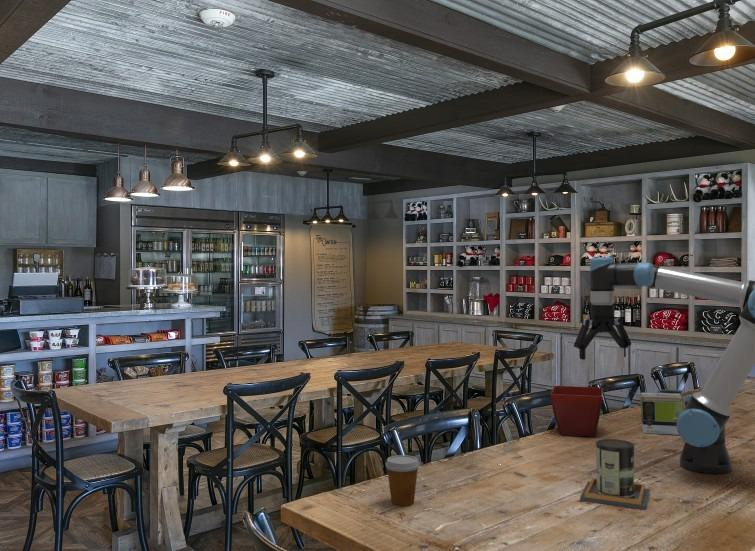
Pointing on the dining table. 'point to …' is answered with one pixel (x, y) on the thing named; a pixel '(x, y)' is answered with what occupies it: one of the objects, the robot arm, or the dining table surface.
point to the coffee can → (615, 467)
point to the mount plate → (634, 502)
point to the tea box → (660, 412)
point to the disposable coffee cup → (402, 478)
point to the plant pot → (576, 409)
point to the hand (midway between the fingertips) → (602, 368)
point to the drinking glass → (671, 392)
